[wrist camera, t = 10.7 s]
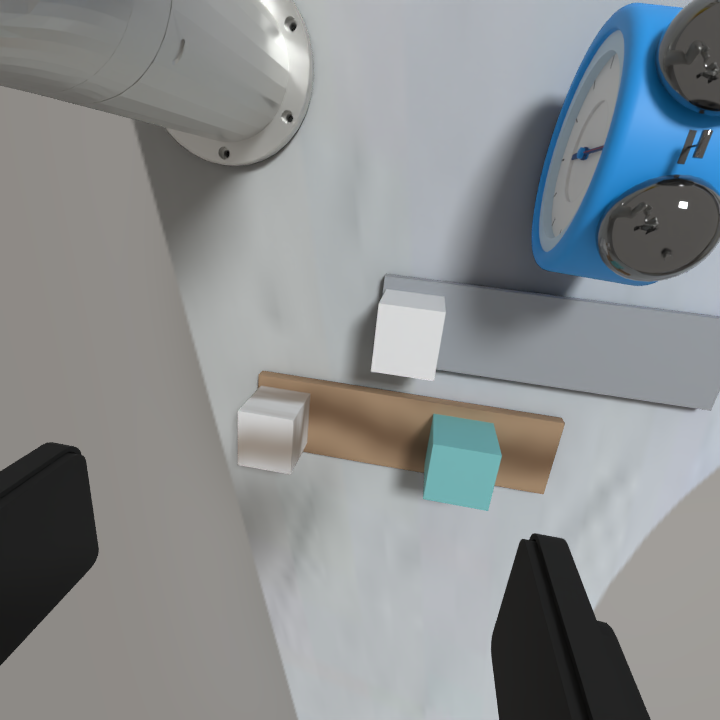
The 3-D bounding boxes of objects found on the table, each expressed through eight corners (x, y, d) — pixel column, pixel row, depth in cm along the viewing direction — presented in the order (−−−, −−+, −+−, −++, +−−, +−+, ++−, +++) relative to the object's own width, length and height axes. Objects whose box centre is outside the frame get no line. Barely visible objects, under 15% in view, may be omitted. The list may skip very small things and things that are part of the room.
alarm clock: (572, 50, 29) (703, -89, 15) (673, 62, 28) (907, -70, 14) (516, 254, 33) (575, 296, 19) (601, 269, 33) (723, 322, 19)
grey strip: (386, 273, 35) (376, 288, 30) (739, 319, 32) (803, 344, 27) (376, 355, 38) (365, 383, 32) (703, 404, 35) (754, 444, 29)
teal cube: (433, 413, 38) (433, 444, 33) (493, 423, 37) (501, 455, 32) (424, 463, 39) (423, 498, 35) (481, 473, 39) (488, 510, 34)
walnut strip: (262, 370, 40) (234, 398, 34) (561, 417, 37) (583, 457, 31) (261, 438, 42) (234, 474, 37) (541, 487, 39) (558, 534, 34)
